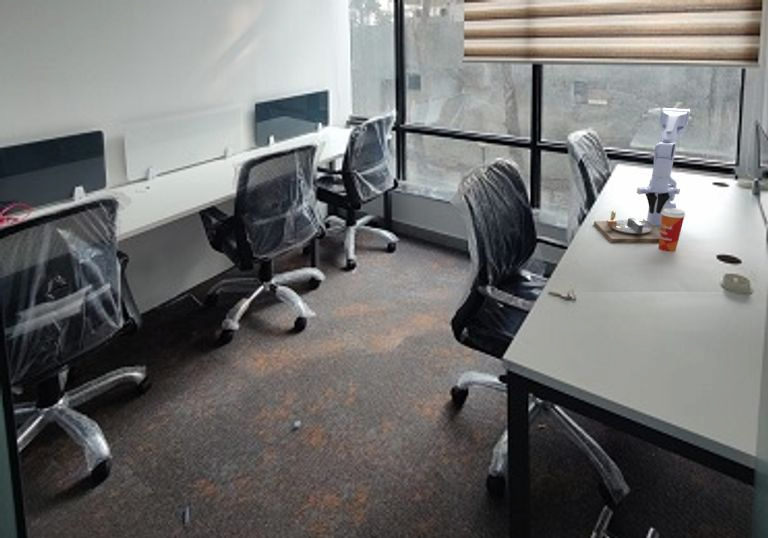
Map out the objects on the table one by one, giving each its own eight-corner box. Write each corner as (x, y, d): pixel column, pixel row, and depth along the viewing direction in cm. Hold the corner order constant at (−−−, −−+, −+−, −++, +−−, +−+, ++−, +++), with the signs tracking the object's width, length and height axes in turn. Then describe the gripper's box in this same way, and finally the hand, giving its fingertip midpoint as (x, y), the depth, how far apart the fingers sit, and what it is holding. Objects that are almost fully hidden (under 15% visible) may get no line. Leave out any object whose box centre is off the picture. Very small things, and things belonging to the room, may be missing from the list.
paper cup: (651, 245, 220) (657, 207, 215) (671, 244, 221) (678, 207, 215) (662, 253, 213) (669, 214, 208) (683, 252, 213) (690, 213, 208)
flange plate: (642, 222, 238) (644, 212, 237) (658, 235, 224) (660, 225, 222) (601, 222, 239) (602, 212, 237) (614, 235, 224) (615, 225, 223)
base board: (647, 224, 242) (647, 221, 242) (669, 242, 223) (670, 238, 222) (593, 224, 243) (594, 221, 242) (611, 242, 223) (611, 238, 223)
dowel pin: (613, 223, 239) (615, 211, 237) (614, 224, 238) (616, 212, 236) (609, 223, 239) (610, 211, 237) (610, 224, 238) (612, 212, 236)
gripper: (644, 179, 216) (638, 216, 221) (686, 178, 216) (679, 216, 221) (637, 174, 223) (631, 210, 228) (677, 174, 222) (671, 210, 228)
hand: (654, 212), depth 225 cm, fingers closed
